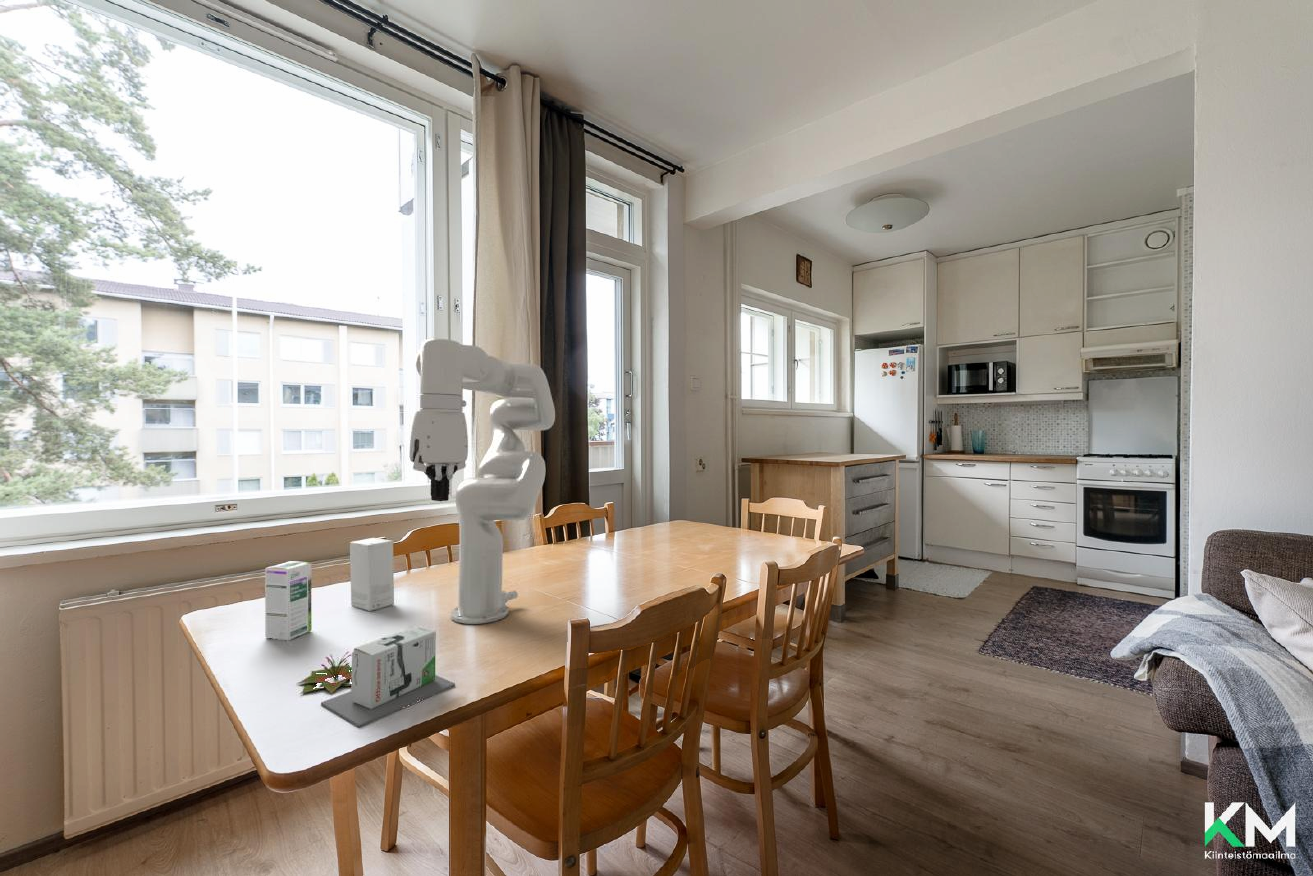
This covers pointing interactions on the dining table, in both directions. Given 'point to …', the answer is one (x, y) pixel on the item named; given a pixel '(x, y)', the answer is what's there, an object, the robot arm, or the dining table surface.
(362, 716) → the mat
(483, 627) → the dining table surface
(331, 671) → the lily flower
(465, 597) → the robot arm
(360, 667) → the ink box
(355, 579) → the skincare box
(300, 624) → the syrup box
